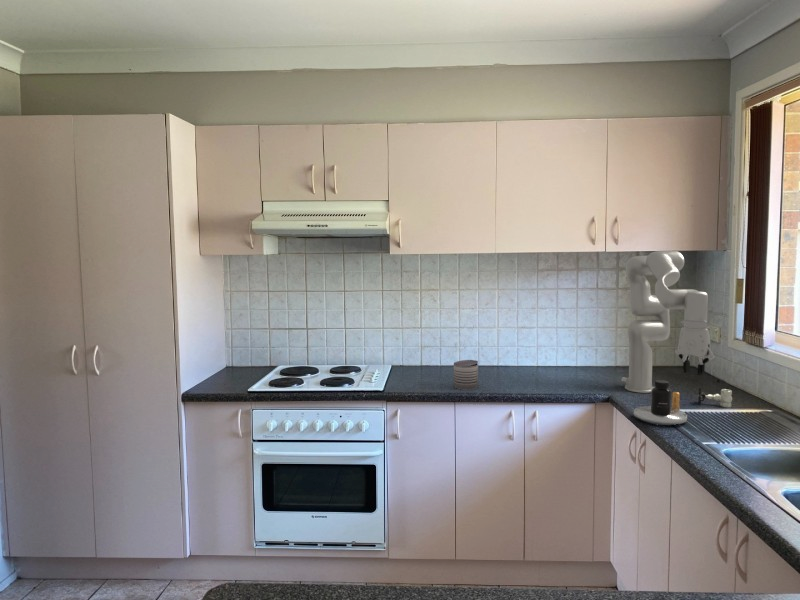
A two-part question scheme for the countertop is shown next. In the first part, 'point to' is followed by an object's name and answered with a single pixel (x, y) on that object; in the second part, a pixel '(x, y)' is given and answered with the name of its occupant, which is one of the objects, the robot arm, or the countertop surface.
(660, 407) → the supplement bottle
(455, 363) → the can
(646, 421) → the turntable base
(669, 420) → the turntable
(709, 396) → the valve
